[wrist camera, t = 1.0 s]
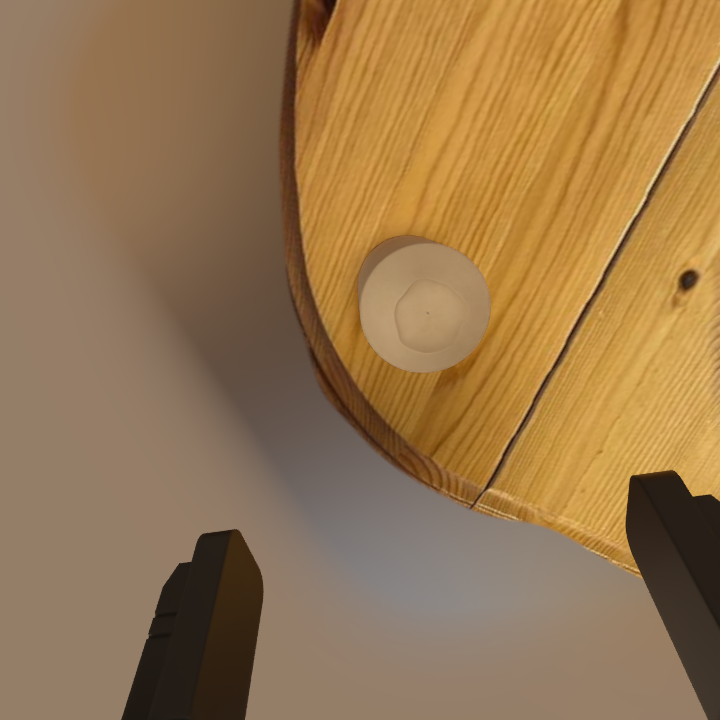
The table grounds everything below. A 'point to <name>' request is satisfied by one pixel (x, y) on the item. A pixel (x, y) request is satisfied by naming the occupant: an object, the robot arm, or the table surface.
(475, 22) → the table surface
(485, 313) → the candle
